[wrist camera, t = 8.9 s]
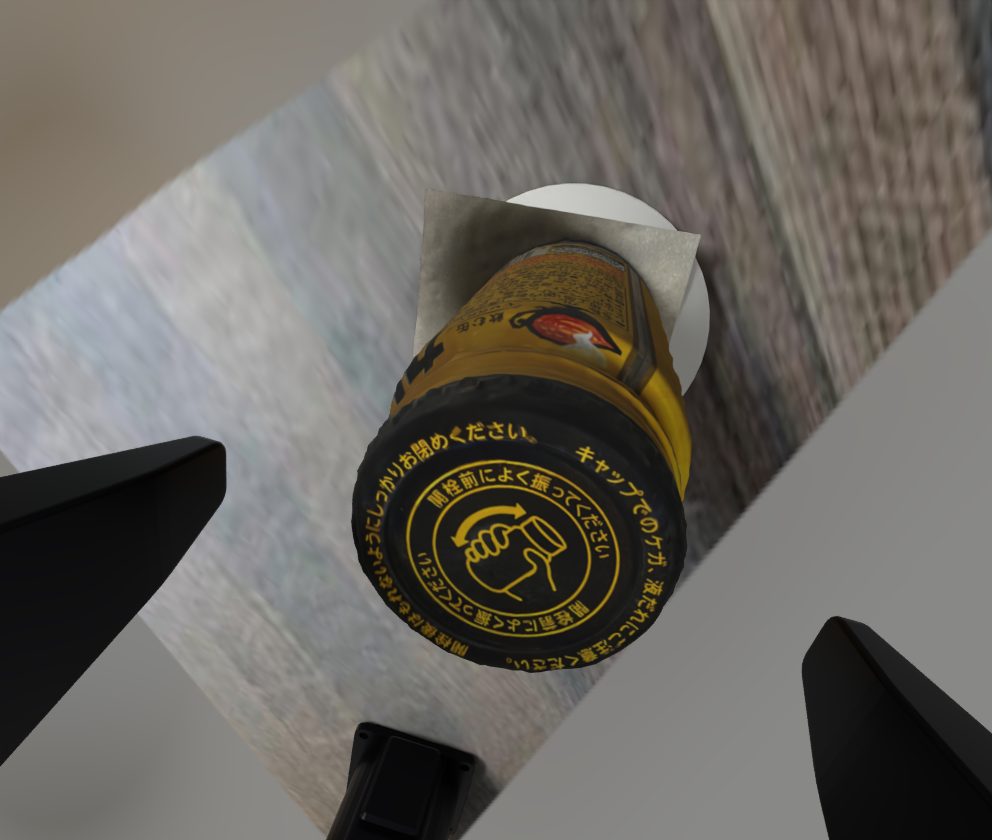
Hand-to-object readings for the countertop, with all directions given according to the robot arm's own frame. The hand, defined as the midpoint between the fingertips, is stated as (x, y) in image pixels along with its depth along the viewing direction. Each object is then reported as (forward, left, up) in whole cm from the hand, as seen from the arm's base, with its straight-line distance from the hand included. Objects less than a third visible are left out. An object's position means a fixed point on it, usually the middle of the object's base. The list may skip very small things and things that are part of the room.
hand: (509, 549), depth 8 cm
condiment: (0, +1, -12) cm, 12 cm away
